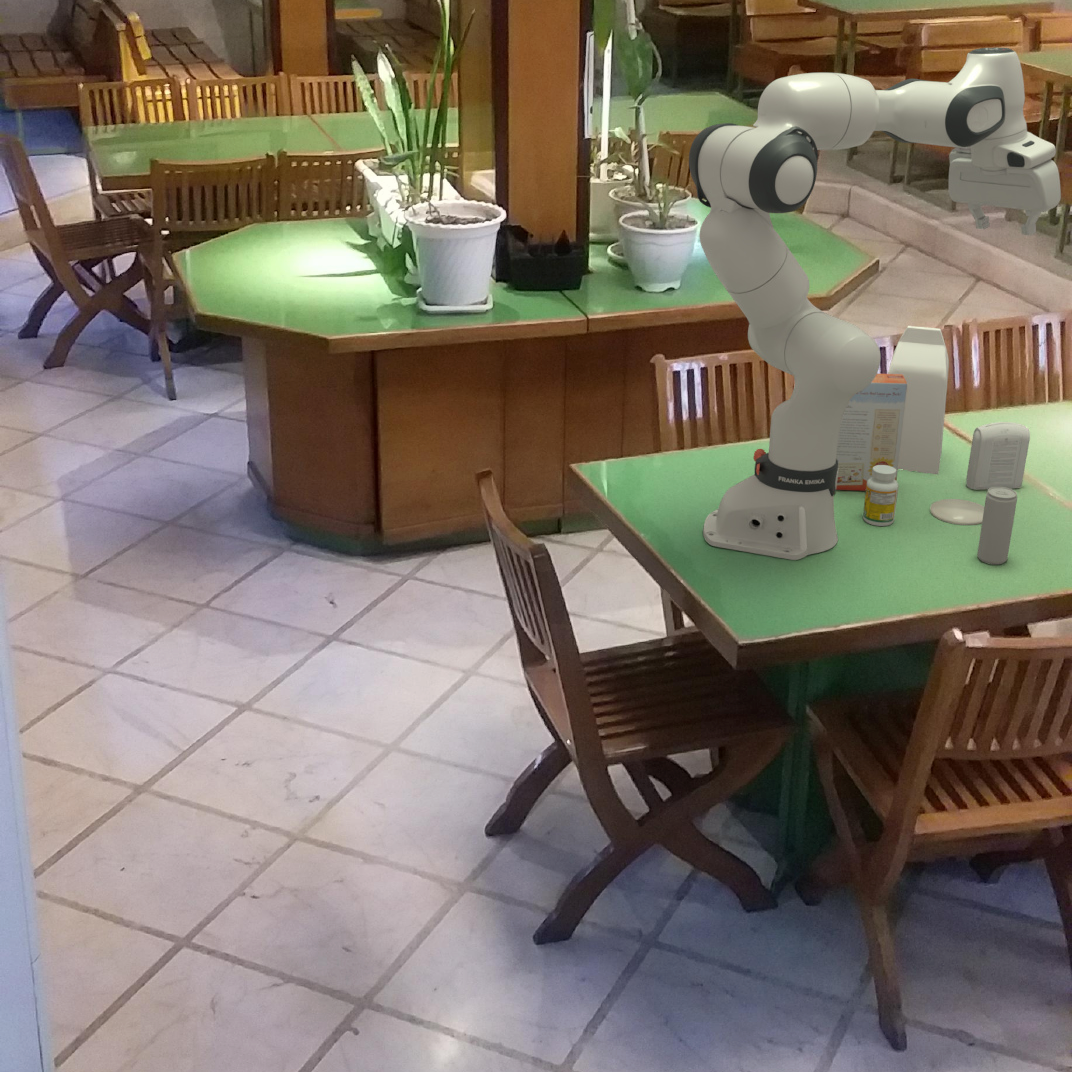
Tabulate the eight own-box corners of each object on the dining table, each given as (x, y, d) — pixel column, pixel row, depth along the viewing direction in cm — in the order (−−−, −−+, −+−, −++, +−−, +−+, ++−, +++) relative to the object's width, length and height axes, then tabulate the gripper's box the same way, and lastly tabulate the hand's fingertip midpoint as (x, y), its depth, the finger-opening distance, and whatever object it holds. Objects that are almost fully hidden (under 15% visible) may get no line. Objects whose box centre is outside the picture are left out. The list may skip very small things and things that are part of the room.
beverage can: (1008, 567, 236) (1019, 499, 231) (977, 564, 237) (987, 496, 232) (1005, 554, 240) (1016, 487, 235) (975, 551, 241) (985, 485, 236)
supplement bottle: (888, 529, 249) (894, 477, 245) (858, 522, 252) (863, 471, 247) (898, 518, 253) (904, 467, 249) (868, 511, 256) (874, 461, 252)
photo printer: (1015, 480, 269) (1025, 417, 264) (1025, 489, 265) (1035, 426, 260) (961, 483, 268) (971, 419, 263) (971, 492, 264) (980, 428, 259)
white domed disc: (931, 522, 252) (931, 519, 251) (928, 499, 261) (929, 496, 260) (991, 527, 250) (991, 524, 250) (986, 504, 259) (986, 501, 259)
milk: (872, 467, 275) (888, 333, 264) (878, 445, 285) (893, 316, 274) (938, 474, 272) (956, 340, 261) (941, 452, 282) (959, 322, 271)
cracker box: (891, 480, 269) (904, 372, 260) (895, 493, 263) (909, 383, 254) (814, 477, 270) (825, 369, 261) (817, 490, 264) (827, 380, 255)
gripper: (936, 150, 242) (943, 230, 248) (1038, 159, 226) (1043, 244, 232) (961, 139, 244) (968, 218, 251) (1064, 146, 228) (1069, 230, 235)
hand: (1005, 231), depth 241 cm, fingers open, 8 cm apart
